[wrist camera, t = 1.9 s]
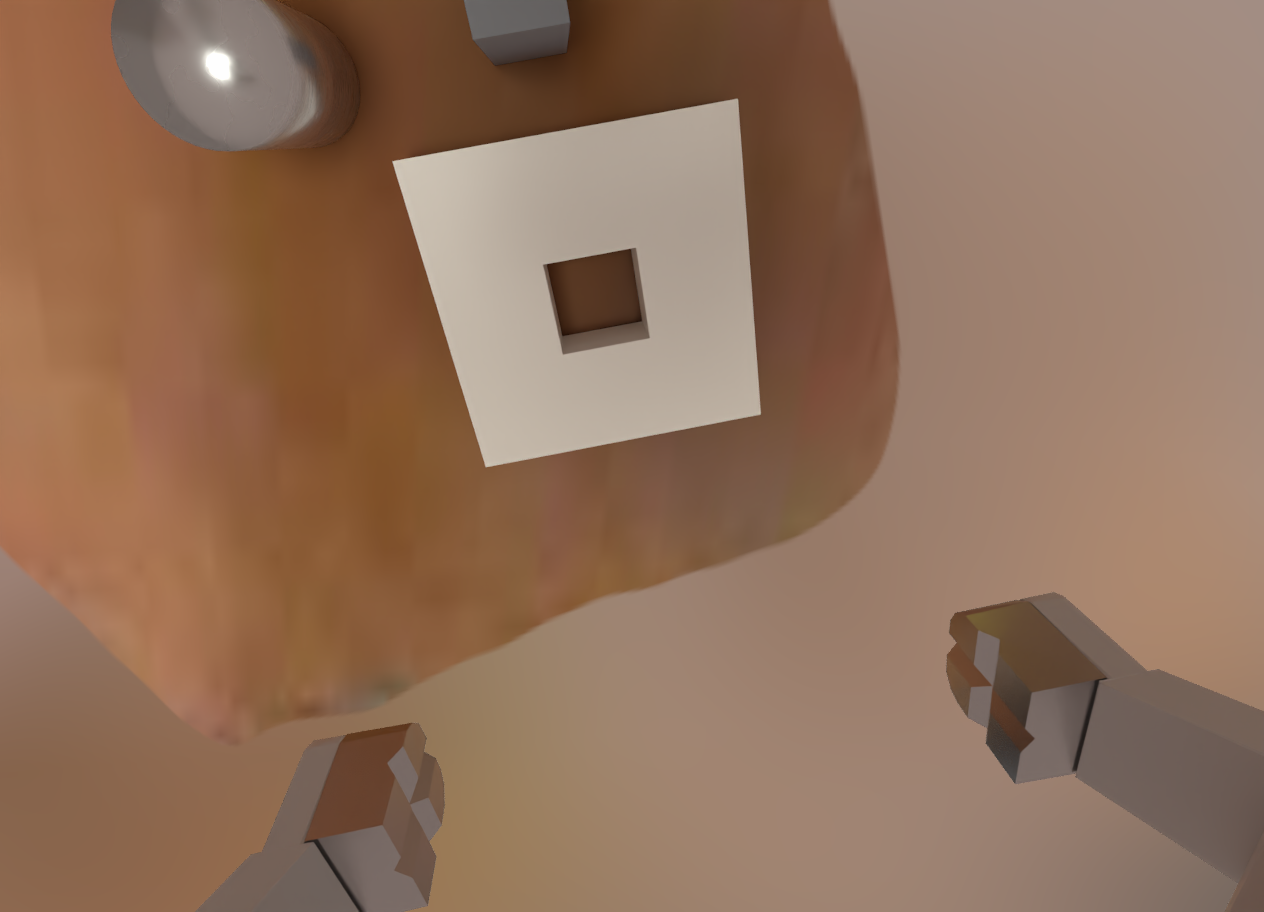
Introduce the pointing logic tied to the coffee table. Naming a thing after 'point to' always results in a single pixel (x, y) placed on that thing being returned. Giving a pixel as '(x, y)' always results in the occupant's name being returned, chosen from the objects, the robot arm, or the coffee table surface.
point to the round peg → (236, 72)
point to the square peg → (519, 28)
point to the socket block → (580, 227)
